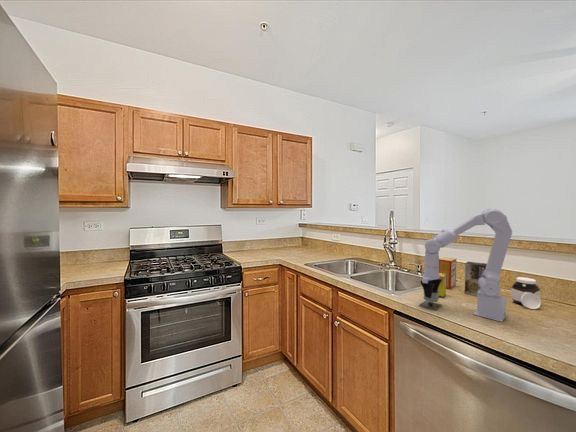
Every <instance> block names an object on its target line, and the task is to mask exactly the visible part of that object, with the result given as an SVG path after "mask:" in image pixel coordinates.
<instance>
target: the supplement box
mask: <svg viewBox="0 0 576 432" xmlns="http://www.w3.org/2000/svg"><path fill="white" fill-rule="evenodd" d="M439 274H440V278H439V279H441V280H442V282H441V283H440V285H439V287H438V292H439V293H438V298H441V299H444V298H445V296H447V295H446V292H447V291H446V290H447V289H446V274H442V273H439Z"/></svg>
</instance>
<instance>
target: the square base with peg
mask: <svg viewBox="0 0 576 432" xmlns="http://www.w3.org/2000/svg"><path fill="white" fill-rule="evenodd" d="M418 306H419V307H421V308H425V309H428V310H432V311H438V310H439V309H441V308H442V307H443V305H442V304H440V303H437V302H430V301H426V300H424V301H422V302H421V303H419V305H418Z"/></svg>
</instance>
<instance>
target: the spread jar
mask: <svg viewBox="0 0 576 432" xmlns="http://www.w3.org/2000/svg"><path fill="white" fill-rule="evenodd" d="M515 279H516V282H514V283H513V284H512V286H511V293H510V295H511V299H512V301H513V302H514V303H516V304H518V305H520V306H524V307H525V308H526V309H529V310H536V309H539V308H541V305H542V301H541V289H540V287H539V285H537V280H536V279H534V278H530V277H525V276H524V277H523V276H521V277H520V276H519V277H516V278H515Z"/></svg>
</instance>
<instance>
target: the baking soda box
mask: <svg viewBox="0 0 576 432" xmlns="http://www.w3.org/2000/svg"><path fill="white" fill-rule="evenodd" d="M439 273H442V274H446V290H450V291H451V290H452V289H454V288H455V287H456V286H457V285H456V284H457V282H456V281H457V258H453V257H444V256H443V257H439Z"/></svg>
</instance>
